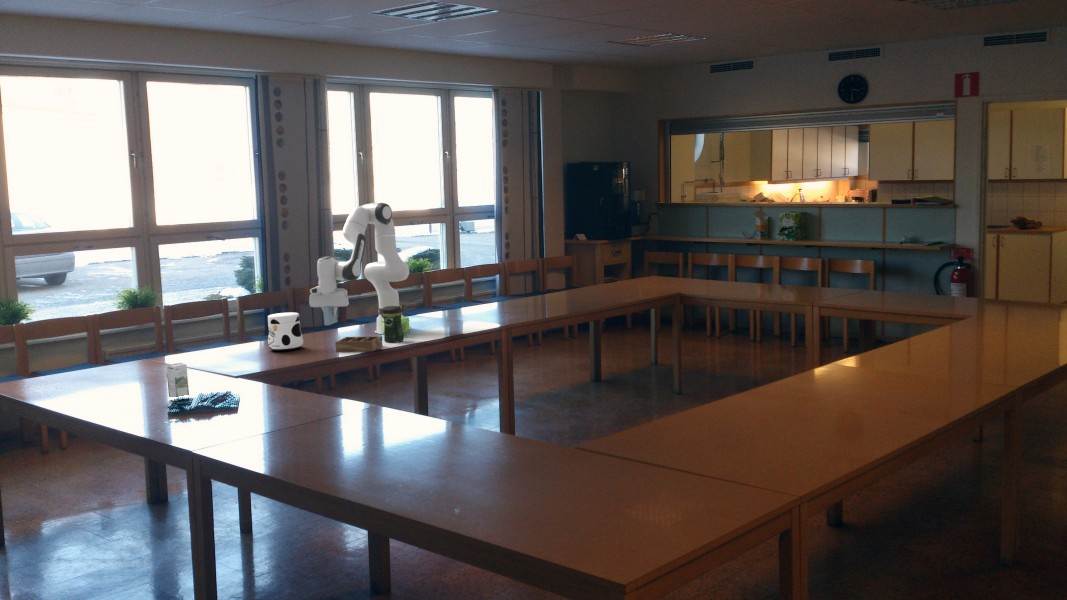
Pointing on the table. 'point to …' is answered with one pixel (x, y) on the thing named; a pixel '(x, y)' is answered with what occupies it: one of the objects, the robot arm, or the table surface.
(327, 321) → the light blue thin block
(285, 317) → the milk container
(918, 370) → the table surface
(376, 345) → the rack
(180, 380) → the syrup box
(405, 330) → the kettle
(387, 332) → the coffee jar
